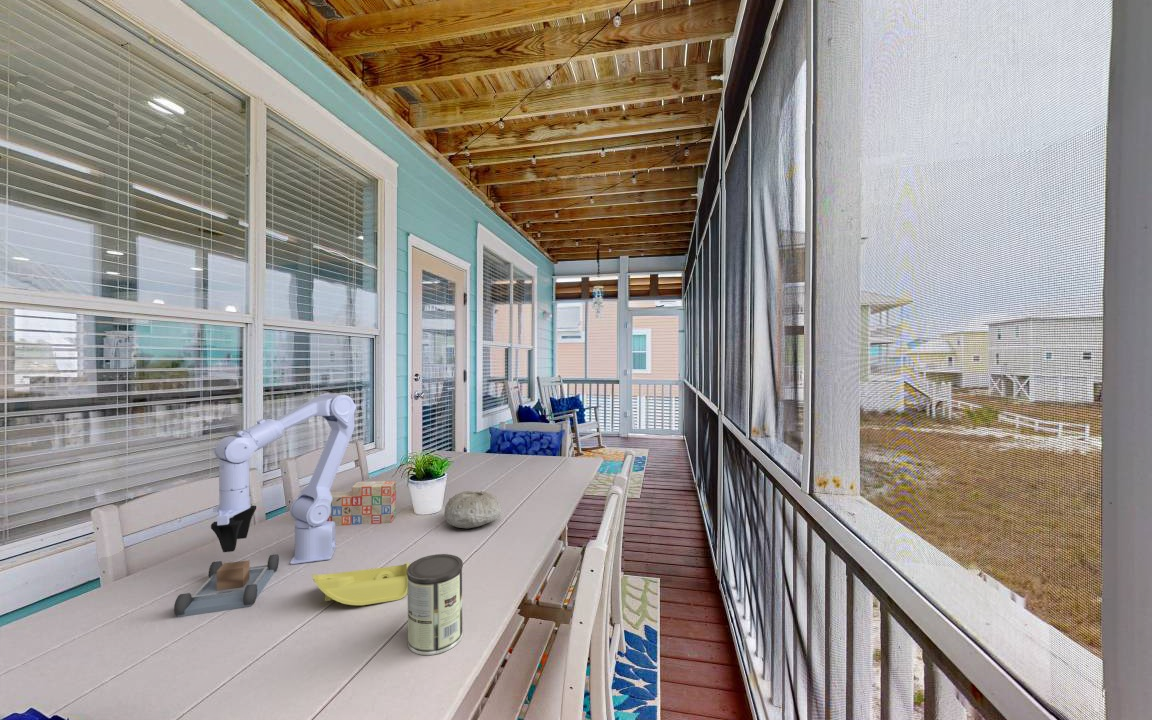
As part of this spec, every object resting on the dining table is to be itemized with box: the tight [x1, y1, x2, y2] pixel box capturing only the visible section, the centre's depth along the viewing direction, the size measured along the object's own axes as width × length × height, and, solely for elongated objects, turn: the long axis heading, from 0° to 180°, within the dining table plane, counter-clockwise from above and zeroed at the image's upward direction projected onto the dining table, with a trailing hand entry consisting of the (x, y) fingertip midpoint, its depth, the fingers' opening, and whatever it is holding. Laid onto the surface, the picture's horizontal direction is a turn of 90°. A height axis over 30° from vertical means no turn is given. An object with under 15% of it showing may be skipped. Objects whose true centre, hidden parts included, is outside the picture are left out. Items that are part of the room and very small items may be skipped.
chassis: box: [173, 553, 280, 618], centre depth 104 cm, size 13×20×4 cm
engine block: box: [217, 559, 251, 591], centre depth 104 cm, size 5×4×4 cm
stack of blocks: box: [326, 480, 397, 526], centre depth 147 cm, size 21×6×12 cm, turn 97°
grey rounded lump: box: [443, 490, 502, 529], centre depth 145 cm, size 18×18×10 cm
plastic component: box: [311, 562, 410, 606], centre depth 102 cm, size 20×7×10 cm
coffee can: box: [407, 553, 464, 656], centre depth 86 cm, size 10×10×14 cm
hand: (235, 544), depth 107 cm, fingers open, 7 cm apart
